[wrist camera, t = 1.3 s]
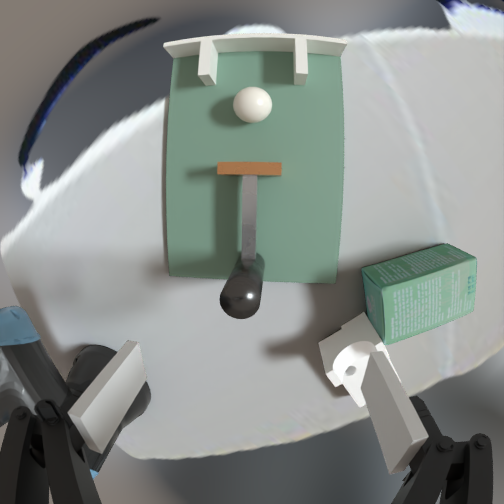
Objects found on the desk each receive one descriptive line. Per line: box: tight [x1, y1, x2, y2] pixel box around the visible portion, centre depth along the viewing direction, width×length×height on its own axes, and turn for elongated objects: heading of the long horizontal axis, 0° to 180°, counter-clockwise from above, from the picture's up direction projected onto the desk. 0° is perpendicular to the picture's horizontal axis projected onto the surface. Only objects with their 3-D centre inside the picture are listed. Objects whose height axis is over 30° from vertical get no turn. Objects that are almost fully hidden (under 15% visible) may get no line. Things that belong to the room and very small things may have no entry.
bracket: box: [318, 312, 402, 407], centre depth 31 cm, size 13×7×8 cm, turn 35°
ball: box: [233, 87, 272, 123], centre depth 25 cm, size 4×4×4 cm
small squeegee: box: [217, 162, 282, 319], centre depth 25 cm, size 6×13×10 cm, turn 179°
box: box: [362, 243, 477, 345], centre depth 28 cm, size 7×14×8 cm, turn 106°
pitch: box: [164, 33, 347, 284], centre depth 27 cm, size 20×28×4 cm
